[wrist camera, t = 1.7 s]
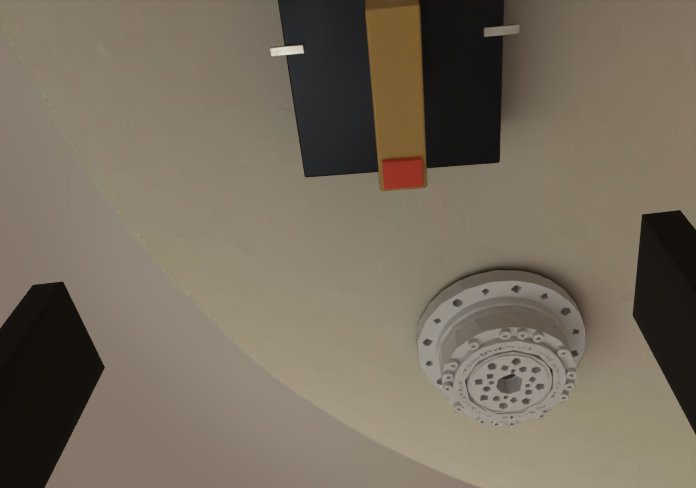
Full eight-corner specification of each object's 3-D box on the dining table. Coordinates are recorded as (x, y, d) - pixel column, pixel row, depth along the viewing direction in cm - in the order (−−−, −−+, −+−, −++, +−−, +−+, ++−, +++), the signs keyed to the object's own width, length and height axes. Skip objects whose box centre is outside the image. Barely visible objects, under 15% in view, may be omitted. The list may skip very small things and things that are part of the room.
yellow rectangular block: (367, -36, 25) (364, 11, 19) (408, -41, 25) (420, 6, 19) (378, 110, 28) (380, 195, 22) (415, 107, 28) (428, 191, 22)
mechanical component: (427, 259, 37) (406, 384, 43) (433, 307, 34) (409, 437, 39) (599, 273, 37) (556, 396, 43) (624, 322, 34) (574, 450, 39)
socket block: (260, -119, 27) (243, -111, 24) (506, -147, 26) (525, -144, 23) (300, 144, 34) (291, 180, 30) (499, 128, 33) (513, 164, 29)
